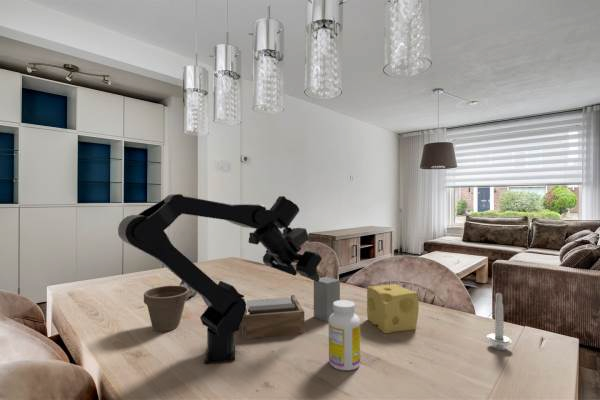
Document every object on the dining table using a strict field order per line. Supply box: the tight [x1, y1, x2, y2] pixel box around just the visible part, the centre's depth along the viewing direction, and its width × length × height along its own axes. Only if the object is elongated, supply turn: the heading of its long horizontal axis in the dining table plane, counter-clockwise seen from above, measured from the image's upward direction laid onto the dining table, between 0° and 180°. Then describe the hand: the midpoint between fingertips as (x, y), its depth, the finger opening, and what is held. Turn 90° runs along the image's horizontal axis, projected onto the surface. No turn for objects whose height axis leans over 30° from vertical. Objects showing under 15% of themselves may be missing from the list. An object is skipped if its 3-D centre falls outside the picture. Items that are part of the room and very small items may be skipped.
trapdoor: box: [246, 297, 295, 314], centre depth 87 cm, size 12×13×3 cm
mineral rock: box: [179, 280, 198, 298], centre depth 113 cm, size 13×11×10 cm
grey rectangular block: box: [313, 276, 341, 323], centre depth 92 cm, size 6×6×11 cm
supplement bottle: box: [328, 299, 361, 372], centre depth 66 cm, size 7×7×13 cm
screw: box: [486, 292, 512, 351], centre depth 73 cm, size 13×5×5 cm
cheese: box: [366, 283, 420, 334], centre depth 87 cm, size 10×11×10 cm
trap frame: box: [241, 294, 305, 339], centre depth 87 cm, size 14×16×6 cm
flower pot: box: [143, 285, 189, 333], centre depth 85 cm, size 12×11×10 cm
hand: (306, 277), depth 87 cm, fingers open, 9 cm apart
